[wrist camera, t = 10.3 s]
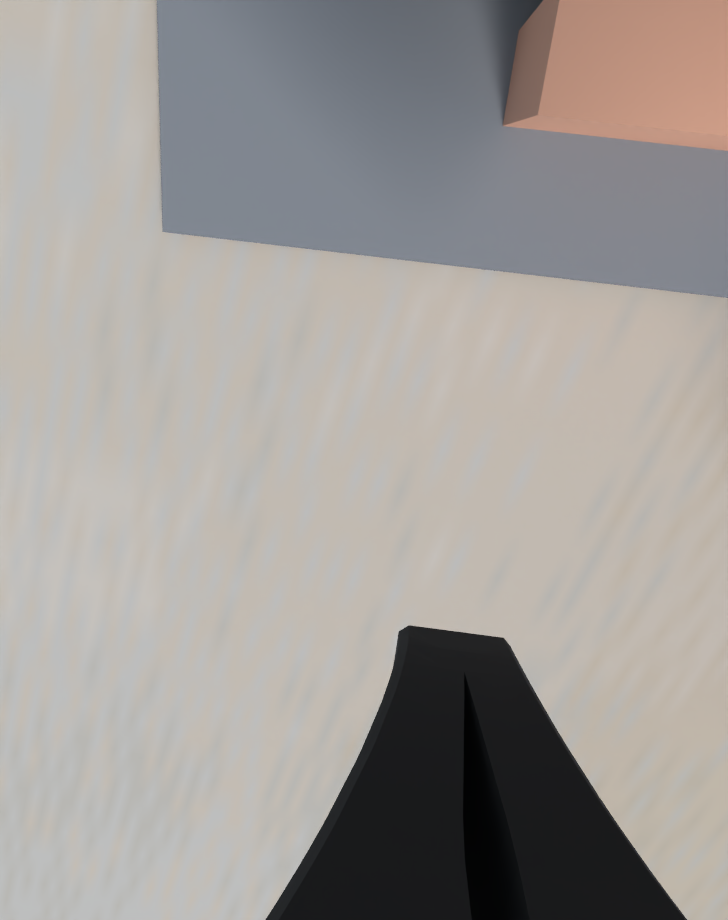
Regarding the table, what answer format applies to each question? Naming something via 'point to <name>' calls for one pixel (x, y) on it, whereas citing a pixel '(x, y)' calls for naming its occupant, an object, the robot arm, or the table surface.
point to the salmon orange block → (624, 71)
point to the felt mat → (414, 147)
